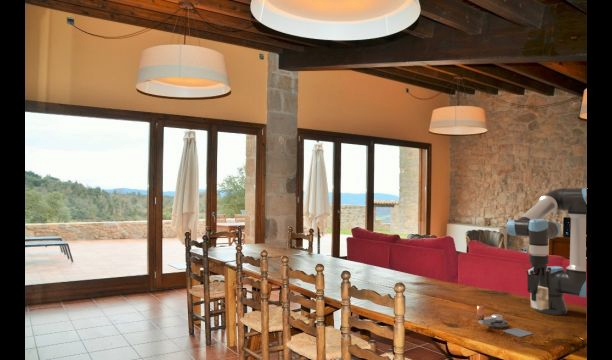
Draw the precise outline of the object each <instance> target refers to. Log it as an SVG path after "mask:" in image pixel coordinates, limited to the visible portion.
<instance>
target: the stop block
mask: <svg viewBox="0 0 612 360" xmlns="http://www.w3.org/2000/svg"><path fill="white" fill-rule="evenodd" d="M529 293H530V292H529ZM537 294H538V302H539V310H544V309H548V288H546V287H542V286H538V289H537ZM529 301H530V308H532V300H531V293H530V300H529ZM532 309H533V308H532ZM535 309H536V308H535ZM535 309H534V310H535Z"/></svg>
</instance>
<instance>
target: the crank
mask: <svg viewBox="0 0 612 360" xmlns="http://www.w3.org/2000/svg"><path fill="white" fill-rule="evenodd" d="M476 320H477V322H478V324H480V325H487V324H488V323H493V322H503V320H504V316H503V315H502V314H498V313H493V314H491V316H485V306H483V305H477V306H476Z"/></svg>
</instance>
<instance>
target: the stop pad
mask: <svg viewBox="0 0 612 360" xmlns="http://www.w3.org/2000/svg"><path fill="white" fill-rule="evenodd" d="M502 332H504V333H506V334H509V335H512V336H515V337H516V338H517V337H518V338H523V337H526V336H531V335H534V333H533V332H530V331H528V330H523V329H520V328H518V327H513V328H506V329H502Z"/></svg>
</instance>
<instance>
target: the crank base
mask: <svg viewBox="0 0 612 360" xmlns="http://www.w3.org/2000/svg"><path fill="white" fill-rule="evenodd" d="M486 325H487V327H489V328H492V329H498V330H506V329H508V325H509V322H508V321H507V320H505V319H503V322H493V323H488V324H486Z"/></svg>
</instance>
